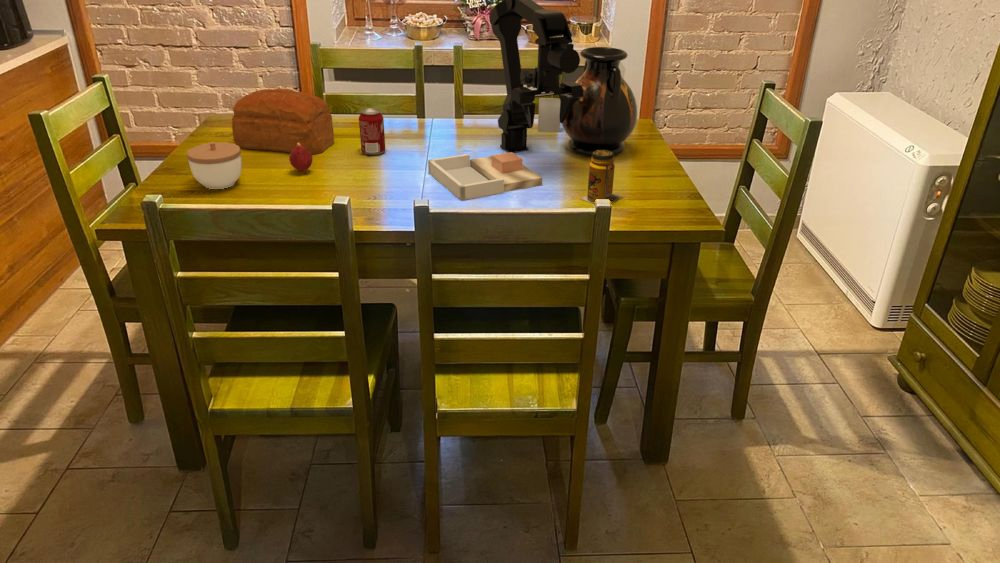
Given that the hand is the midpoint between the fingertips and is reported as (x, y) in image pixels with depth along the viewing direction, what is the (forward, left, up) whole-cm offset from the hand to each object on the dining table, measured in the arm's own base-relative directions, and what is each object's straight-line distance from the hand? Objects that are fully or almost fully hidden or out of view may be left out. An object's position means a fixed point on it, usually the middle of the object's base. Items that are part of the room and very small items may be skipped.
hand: (546, 125), depth 194 cm
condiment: (-2, +24, -12) cm, 27 cm away
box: (+24, 0, -12) cm, 27 cm away
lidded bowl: (+81, -25, -12) cm, 85 cm away
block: (+12, 0, -10) cm, 15 cm away
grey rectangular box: (-18, -29, -12) cm, 36 cm away
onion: (+60, -25, -12) cm, 66 cm away
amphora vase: (-21, -7, -12) cm, 26 cm away
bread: (+58, -49, -13) cm, 77 cm away
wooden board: (+12, 0, -12) cm, 17 cm away
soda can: (+38, -32, -12) cm, 51 cm away
